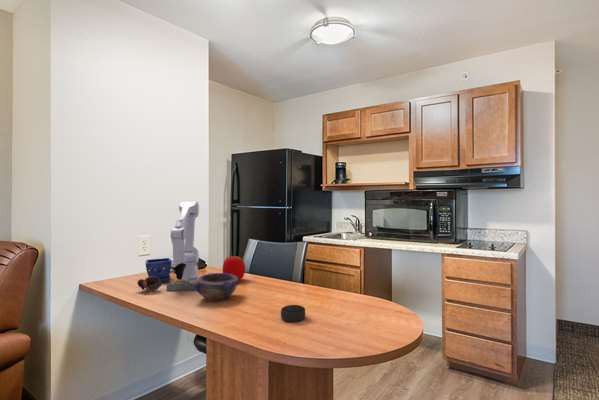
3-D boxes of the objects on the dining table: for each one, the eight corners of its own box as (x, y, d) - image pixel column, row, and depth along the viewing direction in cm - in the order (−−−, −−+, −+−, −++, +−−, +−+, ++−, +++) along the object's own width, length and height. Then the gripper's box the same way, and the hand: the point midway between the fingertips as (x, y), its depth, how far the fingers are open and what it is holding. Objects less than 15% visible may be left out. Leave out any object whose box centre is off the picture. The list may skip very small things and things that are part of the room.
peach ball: (177, 287, 175) (177, 278, 175) (185, 286, 175) (185, 278, 175) (173, 289, 171) (173, 280, 171) (182, 289, 170) (182, 280, 170)
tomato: (218, 282, 183) (217, 256, 183) (228, 278, 194) (228, 253, 194) (239, 283, 179) (238, 256, 179) (249, 278, 190) (248, 253, 190)
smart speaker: (291, 313, 131) (291, 302, 131) (310, 317, 125) (310, 306, 125) (276, 319, 124) (275, 308, 124) (294, 325, 118) (294, 313, 118)
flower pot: (145, 280, 194) (145, 259, 194) (170, 277, 200) (170, 257, 200) (146, 285, 182) (145, 262, 182) (172, 282, 188) (172, 260, 188)
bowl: (228, 305, 143) (227, 281, 143) (189, 303, 146) (188, 280, 146) (244, 293, 160) (243, 272, 160) (208, 292, 164) (208, 271, 164)
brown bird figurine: (164, 288, 175) (165, 276, 171) (156, 302, 167) (157, 289, 163) (140, 283, 174) (141, 271, 171) (131, 296, 166) (131, 283, 162)
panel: (173, 286, 177) (173, 280, 177) (219, 286, 176) (218, 280, 176) (166, 290, 169) (166, 284, 169) (214, 290, 168) (214, 284, 168)
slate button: (190, 284, 175) (190, 275, 175) (199, 284, 174) (198, 275, 174) (187, 286, 170) (187, 277, 170) (196, 286, 170) (195, 277, 170)
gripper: (177, 250, 180) (177, 275, 180) (164, 254, 166) (165, 282, 166) (190, 249, 180) (190, 275, 180) (178, 254, 165) (179, 282, 165)
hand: (179, 278), depth 173 cm, fingers closed
